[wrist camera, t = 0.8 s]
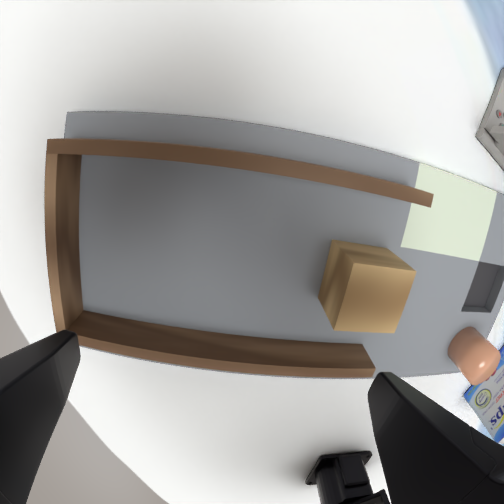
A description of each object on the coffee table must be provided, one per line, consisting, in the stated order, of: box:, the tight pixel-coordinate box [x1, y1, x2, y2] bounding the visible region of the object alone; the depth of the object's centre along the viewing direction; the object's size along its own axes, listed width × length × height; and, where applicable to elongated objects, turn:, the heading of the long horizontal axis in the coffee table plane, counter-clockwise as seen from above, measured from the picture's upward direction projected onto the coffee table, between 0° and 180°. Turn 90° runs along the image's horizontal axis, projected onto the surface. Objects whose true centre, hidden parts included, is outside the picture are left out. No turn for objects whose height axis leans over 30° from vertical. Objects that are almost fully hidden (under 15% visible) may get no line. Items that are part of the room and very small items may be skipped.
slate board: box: [64, 111, 504, 379], centre depth 20 cm, size 17×36×1 cm, turn 81°
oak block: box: [318, 239, 417, 333], centre depth 18 cm, size 4×4×4 cm
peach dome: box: [448, 327, 501, 385], centre depth 21 cm, size 4×4×4 cm
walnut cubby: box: [45, 138, 434, 378], centre depth 18 cm, size 13×21×3 cm, turn 81°
